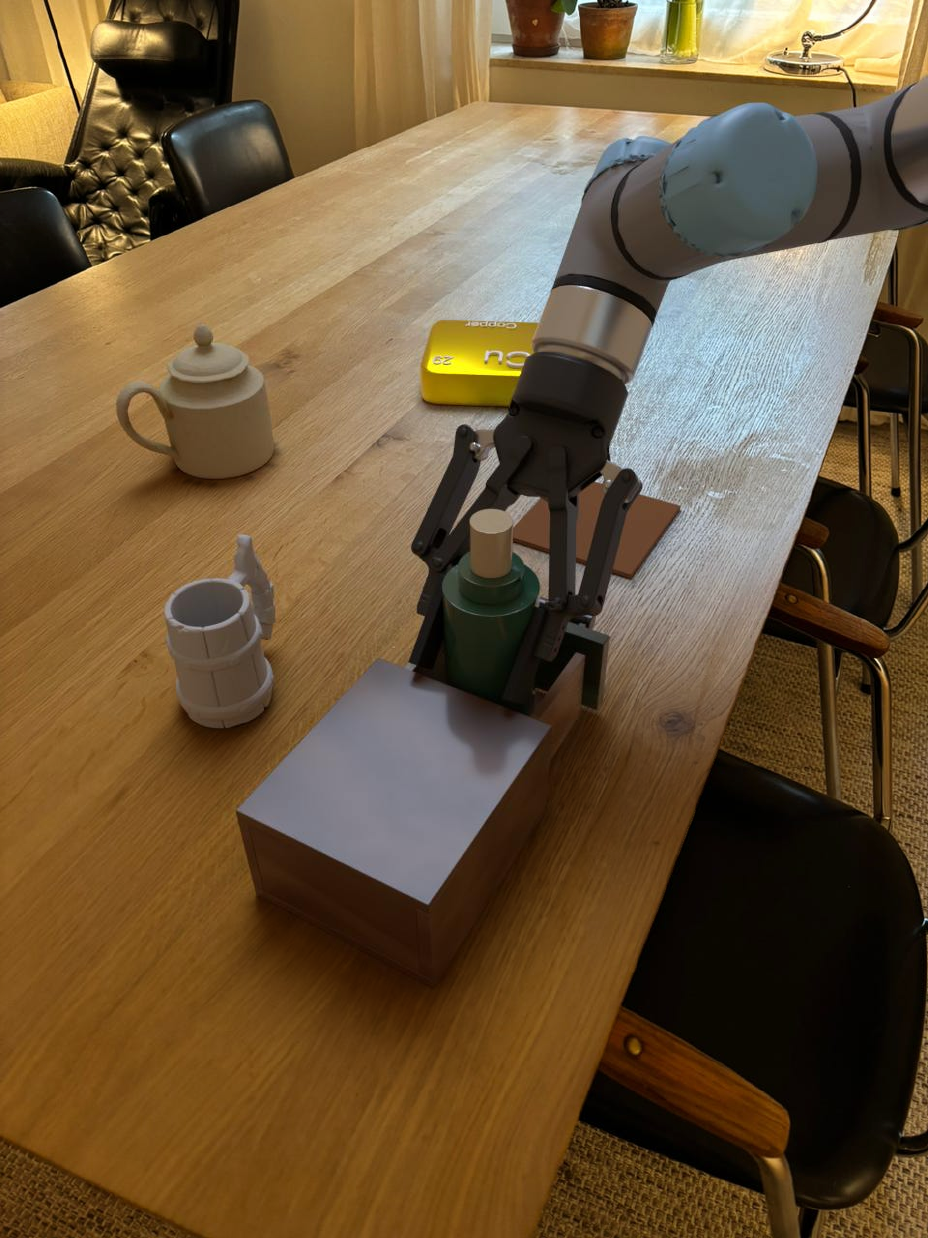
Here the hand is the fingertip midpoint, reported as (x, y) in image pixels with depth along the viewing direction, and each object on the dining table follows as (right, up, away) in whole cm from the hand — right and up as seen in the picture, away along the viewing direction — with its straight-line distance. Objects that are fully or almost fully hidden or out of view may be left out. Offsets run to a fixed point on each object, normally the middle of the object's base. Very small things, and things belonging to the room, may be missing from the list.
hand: (466, 683), depth 68 cm
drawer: (+3, -3, +9) cm, 10 cm away
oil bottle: (+2, -3, +7) cm, 8 cm away
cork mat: (+13, +14, +30) cm, 35 cm away
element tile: (+3, +34, +55) cm, 64 cm away
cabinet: (-4, -12, 0) cm, 12 cm away
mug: (-18, -1, +14) cm, 23 cm away
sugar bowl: (-27, +21, +40) cm, 53 cm away
